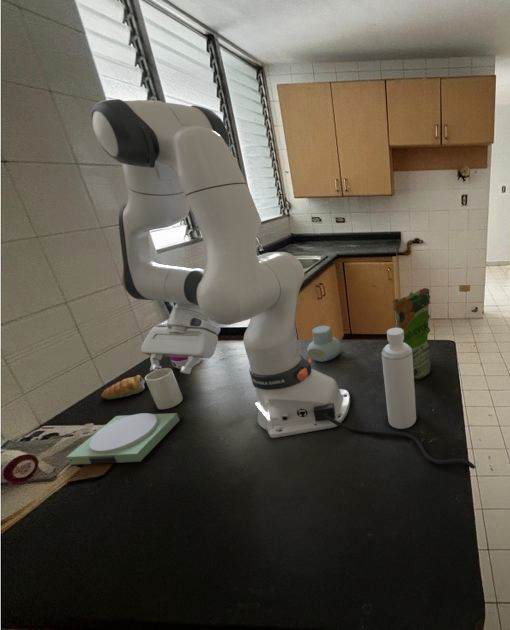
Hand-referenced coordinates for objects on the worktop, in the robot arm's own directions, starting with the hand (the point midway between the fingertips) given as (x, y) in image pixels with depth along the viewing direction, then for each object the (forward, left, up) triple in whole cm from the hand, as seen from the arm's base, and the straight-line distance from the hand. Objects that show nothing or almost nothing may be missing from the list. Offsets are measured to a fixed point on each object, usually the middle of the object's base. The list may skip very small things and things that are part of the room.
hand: (169, 372), depth 90 cm
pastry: (+16, -3, -8) cm, 18 cm away
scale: (0, +17, -8) cm, 18 cm away
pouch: (-66, -7, -8) cm, 66 cm away
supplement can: (+8, -18, -8) cm, 21 cm away
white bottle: (-63, +14, -8) cm, 64 cm away
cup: (0, +3, -8) cm, 8 cm away
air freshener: (-37, -18, -8) cm, 42 cm away
